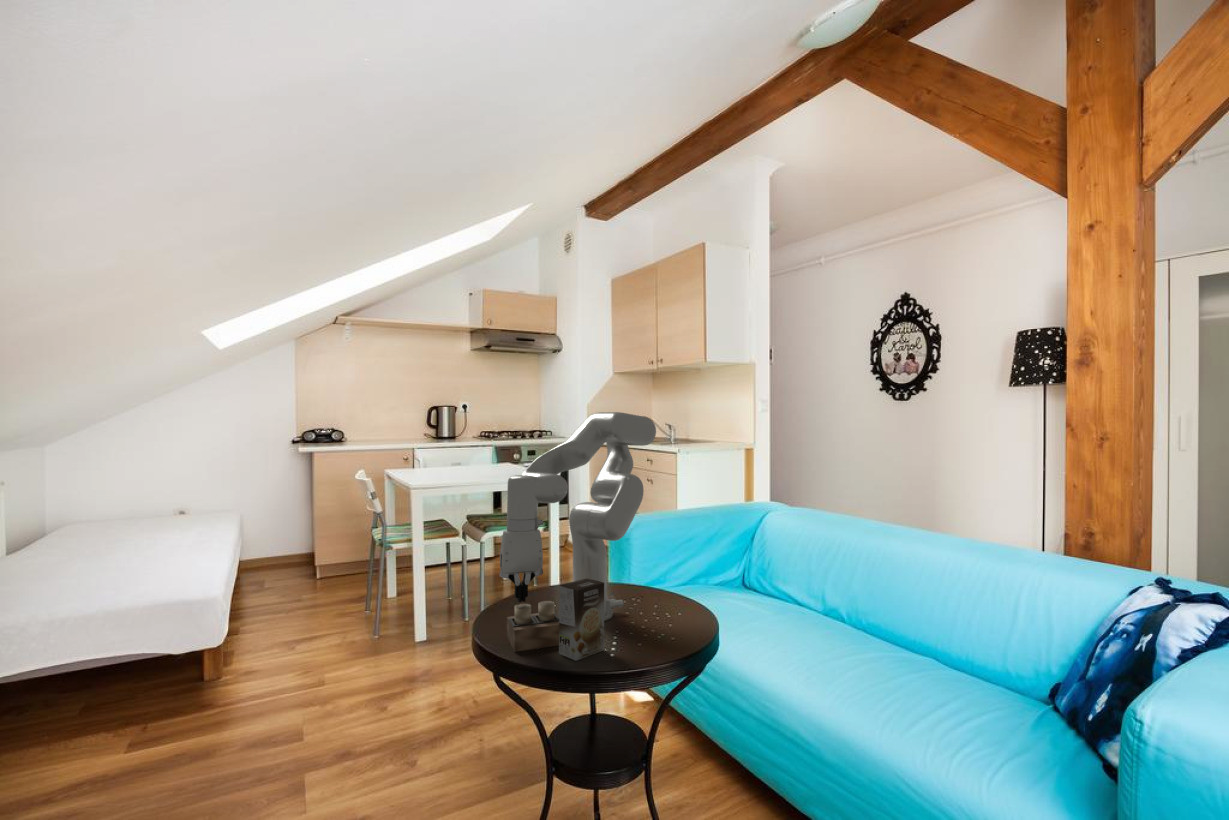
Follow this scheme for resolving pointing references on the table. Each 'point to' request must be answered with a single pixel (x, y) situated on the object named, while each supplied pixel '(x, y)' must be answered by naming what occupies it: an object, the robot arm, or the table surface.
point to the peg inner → (546, 611)
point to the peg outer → (522, 614)
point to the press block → (533, 633)
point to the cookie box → (581, 618)
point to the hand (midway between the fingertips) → (521, 600)
